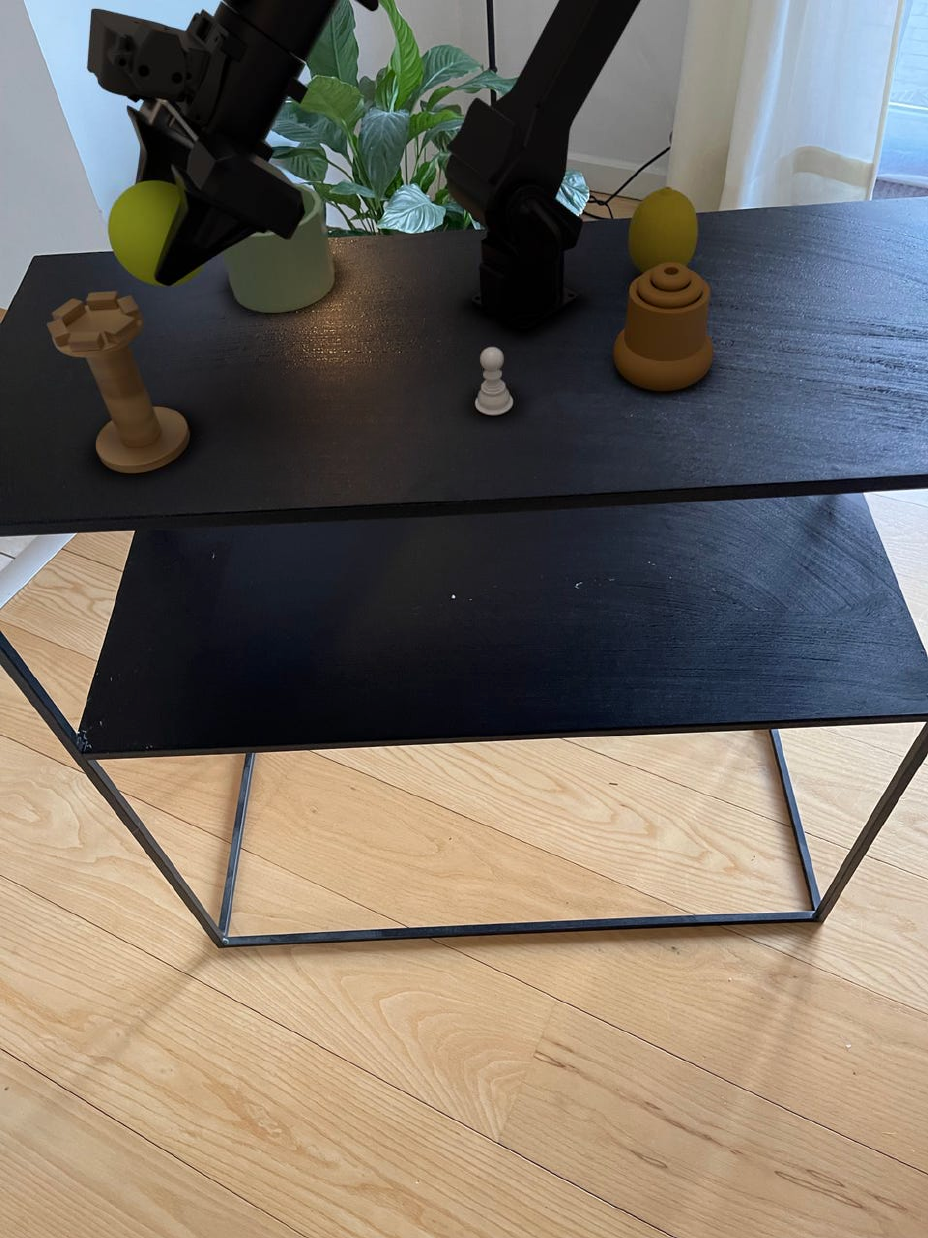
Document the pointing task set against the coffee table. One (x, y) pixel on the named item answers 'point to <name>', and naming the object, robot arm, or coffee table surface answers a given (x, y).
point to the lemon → (663, 230)
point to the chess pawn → (493, 384)
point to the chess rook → (119, 382)
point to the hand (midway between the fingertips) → (146, 260)
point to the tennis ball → (144, 228)
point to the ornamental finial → (665, 330)
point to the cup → (283, 264)
